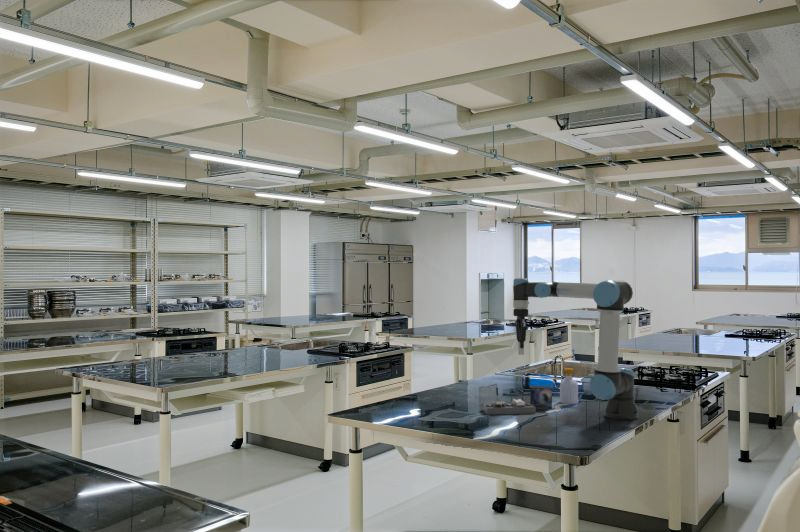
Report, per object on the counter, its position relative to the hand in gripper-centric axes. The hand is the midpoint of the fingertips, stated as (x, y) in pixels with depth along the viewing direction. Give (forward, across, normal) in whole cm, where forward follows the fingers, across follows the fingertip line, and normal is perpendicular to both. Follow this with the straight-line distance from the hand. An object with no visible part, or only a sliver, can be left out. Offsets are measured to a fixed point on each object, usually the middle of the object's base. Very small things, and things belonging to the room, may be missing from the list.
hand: (521, 354), depth 320 cm
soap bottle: (+27, +5, -27) cm, 38 cm away
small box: (+27, -4, -9) cm, 28 cm away
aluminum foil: (+27, +66, -73) cm, 102 cm away
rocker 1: (+22, -12, +15) cm, 29 cm away
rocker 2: (+22, -12, +5) cm, 25 cm away
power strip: (+26, -12, +10) cm, 31 cm away
